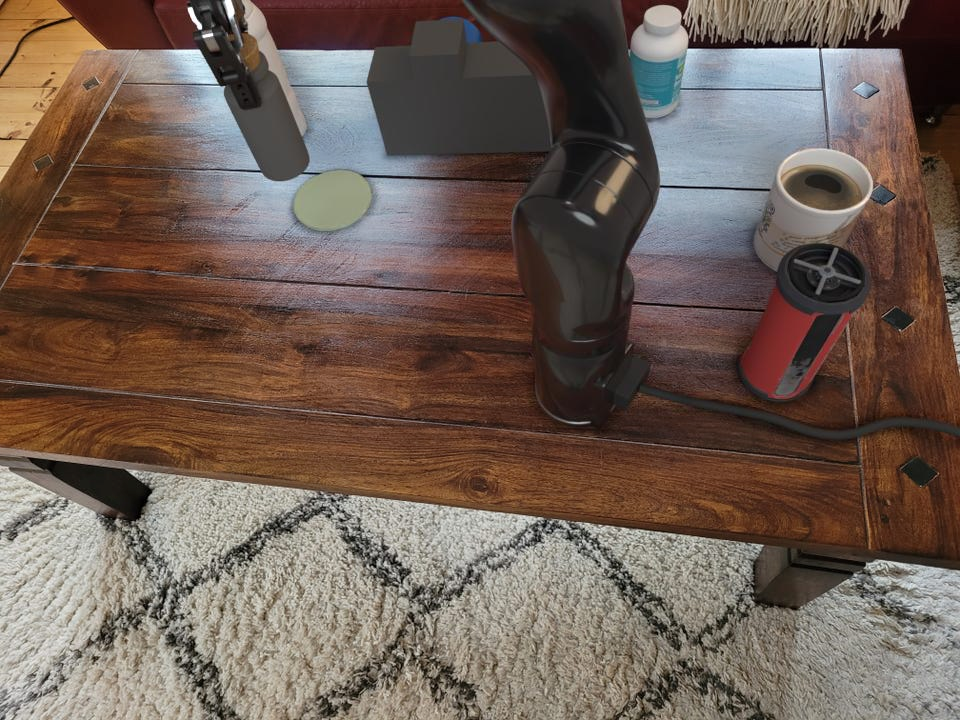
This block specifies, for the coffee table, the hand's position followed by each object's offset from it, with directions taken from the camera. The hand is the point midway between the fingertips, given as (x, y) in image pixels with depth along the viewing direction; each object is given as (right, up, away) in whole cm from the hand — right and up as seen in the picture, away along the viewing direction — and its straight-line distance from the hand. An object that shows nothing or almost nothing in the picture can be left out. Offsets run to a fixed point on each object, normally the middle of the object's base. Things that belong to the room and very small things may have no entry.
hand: (251, 86), depth 70 cm
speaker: (+56, -30, +5) cm, 63 cm away
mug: (+62, -13, +14) cm, 65 cm away
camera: (+23, +8, +31) cm, 40 cm away
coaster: (+3, -6, +25) cm, 26 cm away
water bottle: (-6, +6, +34) cm, 35 cm away
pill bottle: (+48, +9, +29) cm, 57 cm away
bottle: (+1, -6, +9) cm, 11 cm away
